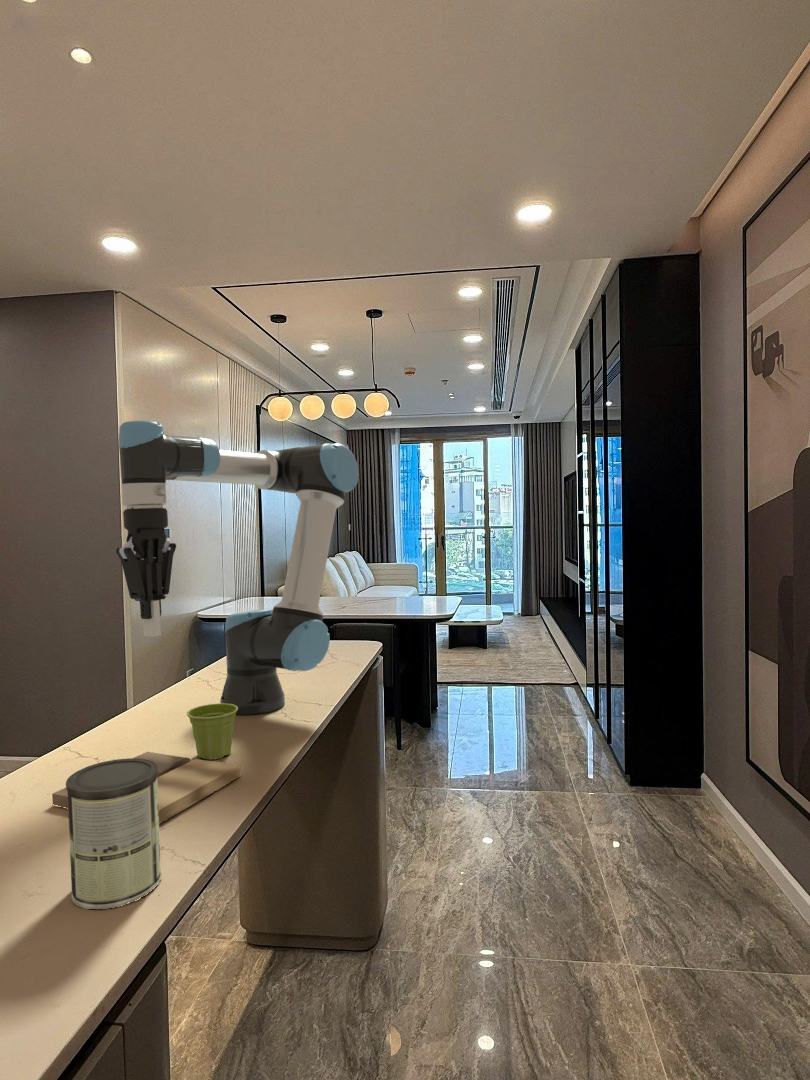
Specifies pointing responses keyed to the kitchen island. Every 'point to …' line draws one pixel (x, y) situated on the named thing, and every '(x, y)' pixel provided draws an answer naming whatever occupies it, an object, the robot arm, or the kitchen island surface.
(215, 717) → the plant pot
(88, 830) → the coffee can
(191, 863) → the kitchen island surface
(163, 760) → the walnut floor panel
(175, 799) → the oak plank
